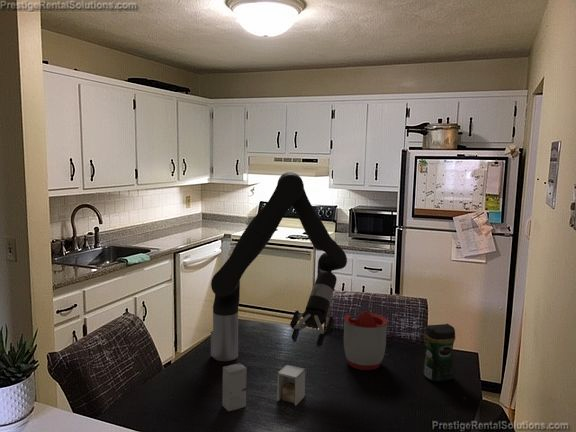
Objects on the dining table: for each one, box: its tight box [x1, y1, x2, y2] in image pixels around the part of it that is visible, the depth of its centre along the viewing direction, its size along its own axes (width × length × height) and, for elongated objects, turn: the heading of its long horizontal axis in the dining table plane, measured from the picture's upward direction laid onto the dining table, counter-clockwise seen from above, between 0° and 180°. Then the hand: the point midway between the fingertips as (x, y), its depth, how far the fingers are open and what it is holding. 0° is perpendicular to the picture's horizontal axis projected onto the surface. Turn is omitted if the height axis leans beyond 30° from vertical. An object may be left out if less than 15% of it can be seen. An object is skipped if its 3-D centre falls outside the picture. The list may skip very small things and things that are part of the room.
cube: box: [281, 382, 295, 404], centre depth 145 cm, size 4×4×4 cm
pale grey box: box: [276, 364, 306, 407], centre depth 145 cm, size 6×6×9 cm
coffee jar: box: [423, 323, 456, 382], centre depth 161 cm, size 10×8×19 cm
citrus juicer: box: [343, 310, 389, 371], centre depth 170 cm, size 16×17×20 cm
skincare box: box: [222, 362, 247, 412], centre depth 140 cm, size 6×4×12 cm
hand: (305, 343), depth 153 cm, fingers open, 8 cm apart
